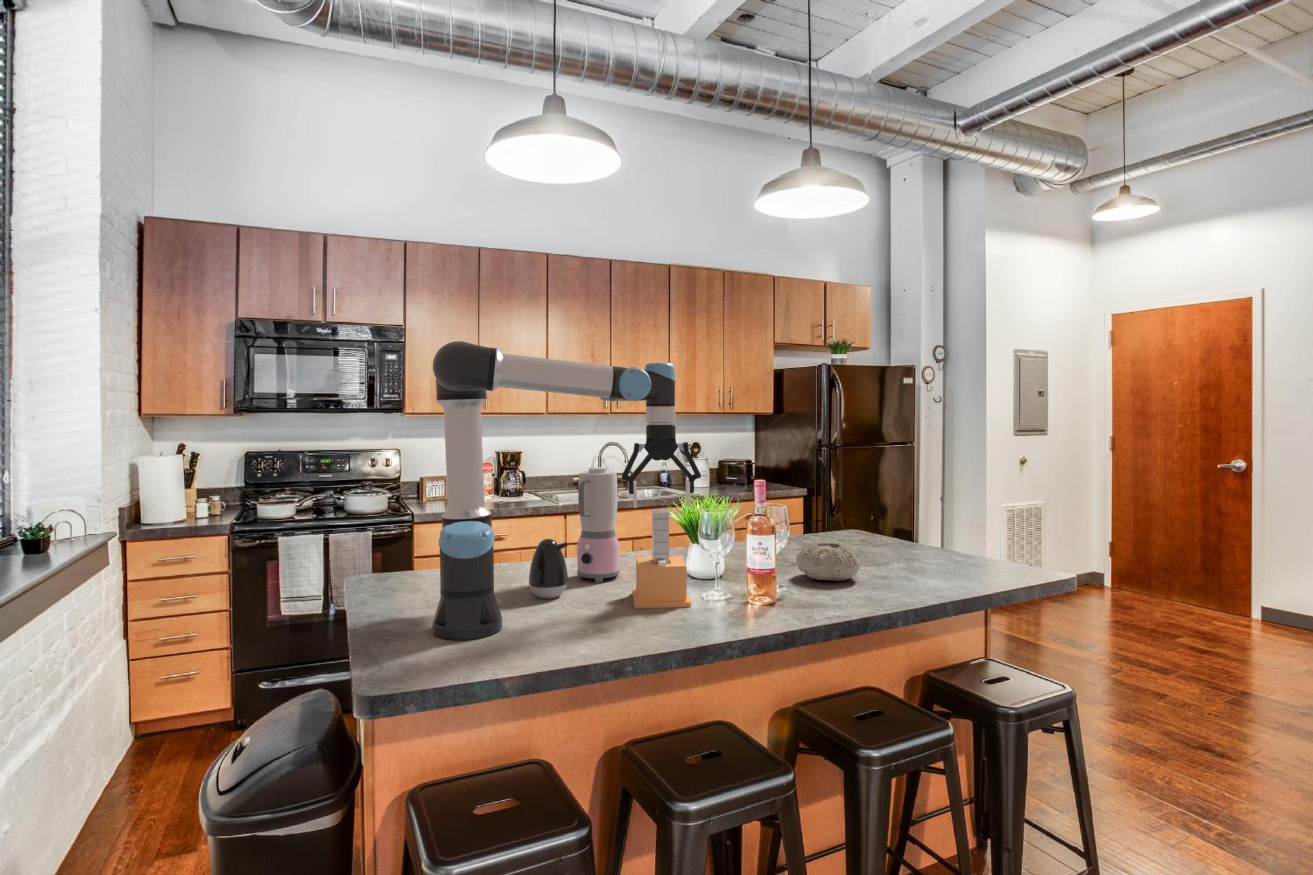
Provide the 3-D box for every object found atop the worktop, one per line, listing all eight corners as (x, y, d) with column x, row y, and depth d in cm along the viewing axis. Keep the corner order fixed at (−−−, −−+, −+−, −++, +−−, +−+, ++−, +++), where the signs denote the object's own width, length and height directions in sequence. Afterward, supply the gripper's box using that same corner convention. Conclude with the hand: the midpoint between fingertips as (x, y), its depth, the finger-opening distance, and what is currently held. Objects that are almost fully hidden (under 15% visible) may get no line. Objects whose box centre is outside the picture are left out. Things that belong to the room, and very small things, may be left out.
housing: (690, 606, 179) (690, 563, 179) (634, 608, 178) (634, 564, 178) (684, 592, 193) (684, 551, 193) (632, 593, 192) (632, 552, 192)
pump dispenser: (561, 602, 183) (560, 543, 183) (522, 600, 186) (522, 541, 185) (573, 592, 193) (573, 536, 193) (537, 590, 195) (536, 534, 195)
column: (670, 597, 183) (670, 512, 182) (652, 597, 182) (652, 513, 181) (668, 590, 189) (668, 509, 188) (651, 591, 188) (651, 509, 187)
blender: (592, 570, 218) (591, 465, 217) (627, 575, 212) (627, 467, 211) (562, 582, 204) (561, 469, 203) (598, 587, 198) (598, 471, 197)
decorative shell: (863, 587, 198) (863, 551, 198) (797, 585, 201) (797, 549, 200) (855, 572, 216) (856, 539, 215) (795, 570, 218) (795, 537, 218)
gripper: (707, 422, 188) (707, 503, 189) (611, 423, 186) (612, 505, 187) (711, 423, 181) (712, 507, 182) (611, 424, 179) (613, 509, 180)
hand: (661, 506), depth 185 cm, fingers open, 13 cm apart
